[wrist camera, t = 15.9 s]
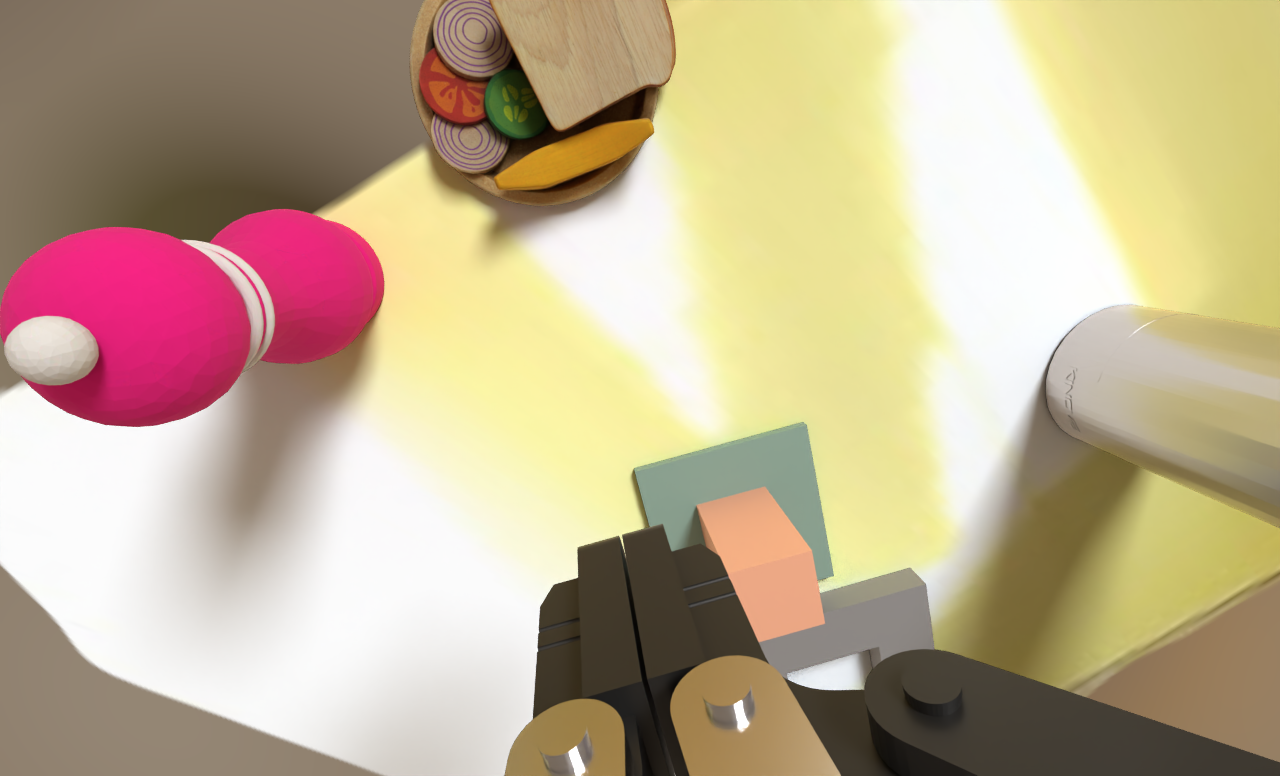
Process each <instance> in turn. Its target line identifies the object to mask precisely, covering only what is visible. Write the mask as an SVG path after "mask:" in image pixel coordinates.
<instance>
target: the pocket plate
mask: <svg viewBox="0 0 1280 776" xmlns="http://www.w3.org/2000/svg"><path fill="white" fill-rule="evenodd" d="M820 598H821V603H822V609H823V614H824V620H825V624H822V625H819V626H815V627H812V628H808V629H804V630H801V631H797V632H794V633H790V634H787V635H783V636H780V637H776V638H773V639H769V640H765V641H762V642H759V644H760V646H761V649H762V651H763V653H764V655H765V657H766V659H767V661H768V663H769V664H770V665H771V666H773V667H774V668H775V669H776V670H777V671H778V672H779V673H780V674H781V675H782V676H783V677H784V678H786V679H788V678H787V674H786V673H790V672H793V671H797V670H800V669H804V668H807V667H810V666H814V665H817V664H821V663H824V662H828V661H831V660H834V659H838V658H841V657H845V656H848V655H852V654H855V653H859V652H862V651H865V650H870V656H871V662H872V668H874V667H875V666H876V665H877V664H879V663H880V662H881V661H883V660H884V659H886V658H888V657H890V656H892V655H894V654H897V653H900V652H904V651H909V650H917V649H933V650H935V649H934V641H933V634H932V626H931V619H930V611H929V604H928V596H927V589H926V584H925V583H924V582H923V581H922V580H921V578H920V577H919V576H918V575H917V574H916V573H915V572H914V571H913V570H912V569H911V568H908V569H904V570H901V571H897V572H894V573H890V574H887V575H883V576H880V577H876V578H873V579H869V580H866V581H862V582H859V583H855V584H852V585H848V586H845V587H841V588H838V589H834V590H831V591H827V592H824V593H820Z"/></svg>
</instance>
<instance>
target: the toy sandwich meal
mask: <svg viewBox="0 0 1280 776" xmlns="http://www.w3.org/2000/svg"><path fill="white" fill-rule="evenodd" d="M675 58H676V48H675V36H674V29H673V25H672V20H671V16H670V13H669V10H668V6H667V3H666V0H424V2H423V4H422V6H421V9H420V11H419V14H418V16H417V19H416V23H415V26H414V30H413V35H412V41H411V49H410V78H411V85H412V91H413V95H414V100H415V103H416V107H417V110H418V112H419V115H420V118H421V120H422V122H423V124H424V127H425V129H426V131H427V133H428V135H429V136H430V138H431V140H432V142H433V144H434V147H435V149H436V151H437V153H438V154H439V155H440V157H441V158H442V159H443V160H444V161H445V162H446V163H447V164H448V165H450V166H451V167H453V168H454V169H455V170H456V171H457V172H459V173H460V174H461V175H462V176H463V177H465V178H466V179H467V180H468V181H470V182H471V183H473V184H474V185H476V186H477V187H479V188H481V189H482V190H484V191H486V192H488V193H490V194H492V195H494V196H496V197H499V198H502V199H504V200H508V201H511V202H515V203H519V204H526V205H536V206H549V205H559V204H564V203H569V202H573V201H576V200H579V199H582V198H584V197H587V196H589V195H591V194H593V193H595V192H597V191H599V190H600V189H602V188H603V187H605V186H606V185H608V184H609V183H610V182H612V181H613V180H614V179H615V178H616V177H617V176H619V175H620V174H621V173H622V172H623V171H624V170H625V169H626V167H627V166H628V165H629V164H630V163H631V162H632V160H633V159H634V157H635V156H636V155H637V153H638V152H639V150H640V148H641V146H642V145H643V143H644V141H645V140H646V139H647V138H649V137H650V136H651V135H652V134H653V133H654V128H653V124H652V121H653V118H654V114H655V109H656V104H657V97H658V87H661V86H663V85H665V84H666V83H667V82H668V81H669V79H670V77H671V74H672V70H673V68H674V65H675Z"/></svg>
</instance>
